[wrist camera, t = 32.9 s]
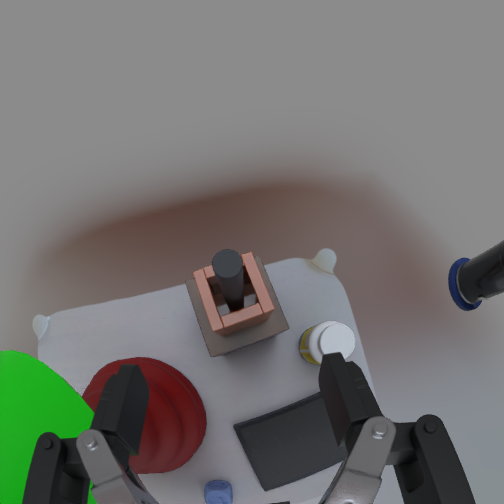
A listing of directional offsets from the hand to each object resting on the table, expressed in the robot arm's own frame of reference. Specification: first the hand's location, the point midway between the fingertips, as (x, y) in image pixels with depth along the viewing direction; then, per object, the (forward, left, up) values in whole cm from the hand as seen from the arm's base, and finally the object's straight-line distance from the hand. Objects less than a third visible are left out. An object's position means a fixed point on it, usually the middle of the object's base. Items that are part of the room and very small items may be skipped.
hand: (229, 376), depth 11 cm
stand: (-2, -6, -32) cm, 32 cm away
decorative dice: (+12, +22, -32) cm, 40 cm away
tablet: (-4, +17, -32) cm, 36 cm away
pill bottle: (-12, +3, -32) cm, 34 cm away
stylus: (-2, -6, -17) cm, 18 cm away
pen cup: (-2, -6, -18) cm, 19 cm away
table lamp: (+18, +5, -32) cm, 37 cm away
